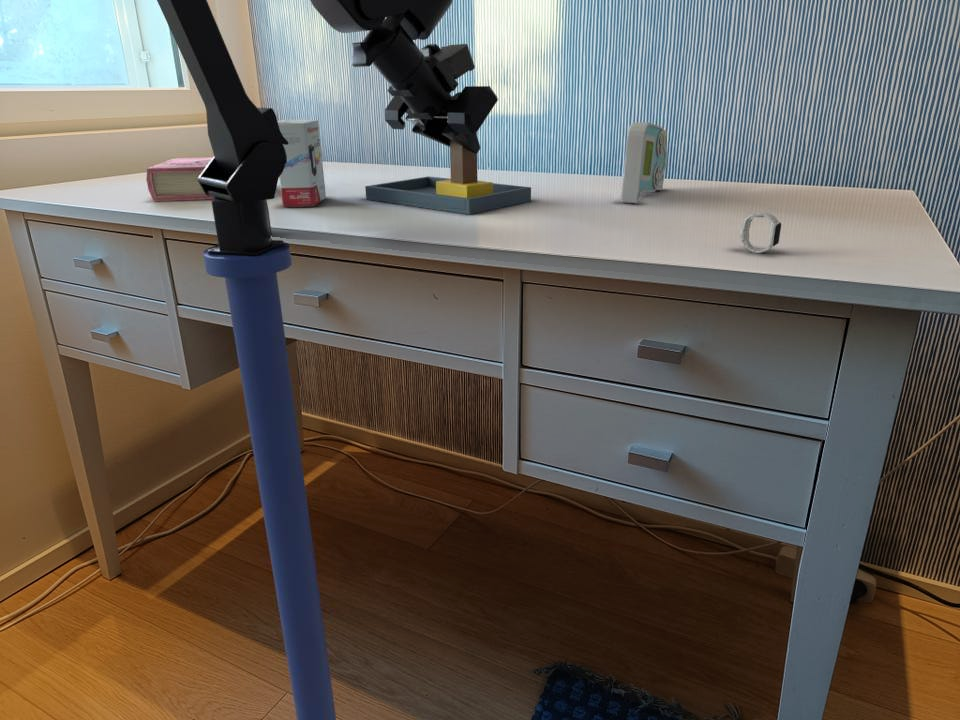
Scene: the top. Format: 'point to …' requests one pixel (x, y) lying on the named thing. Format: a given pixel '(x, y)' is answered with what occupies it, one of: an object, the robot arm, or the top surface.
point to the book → (177, 179)
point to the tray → (445, 196)
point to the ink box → (302, 164)
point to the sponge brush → (463, 175)
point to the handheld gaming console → (644, 160)
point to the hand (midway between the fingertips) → (471, 150)
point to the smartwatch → (773, 234)
